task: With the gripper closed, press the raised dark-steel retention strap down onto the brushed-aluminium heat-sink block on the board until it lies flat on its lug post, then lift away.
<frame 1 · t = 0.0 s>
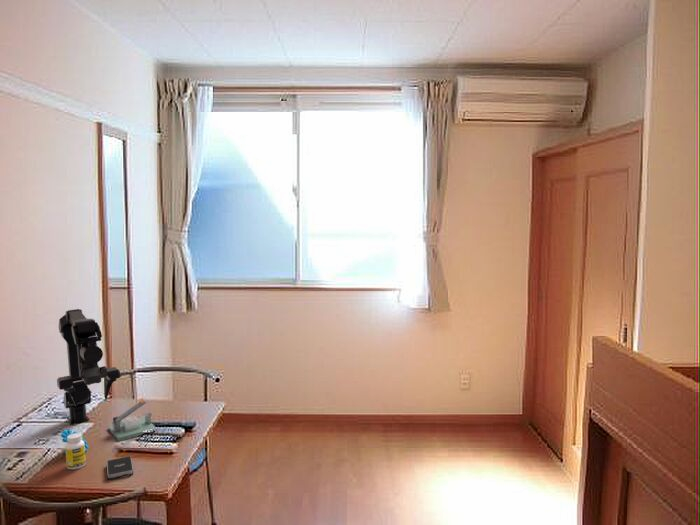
hand: (91, 402, 185), 15 cm above the table, fingers open, 9 cm apart
external hard drive: (120, 472, 168), on the table
supplement bottle: (76, 466, 171), on the table
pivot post: (116, 433, 195), resting on board
board: (132, 430, 198), on the table
heatsink: (130, 430, 198), resting on board
gear: (76, 452, 182), on the table
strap: (130, 410, 197), point 7 cm above the table, hinge at 25.0°
lug post: (148, 425, 202), resting on board
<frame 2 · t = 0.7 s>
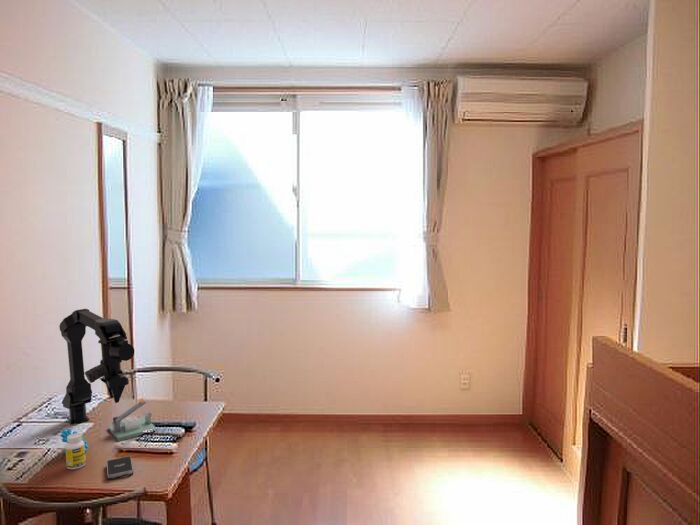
hand: (114, 400, 192), 13 cm above the table, fingers open, 6 cm apart
nothing on the table moved.
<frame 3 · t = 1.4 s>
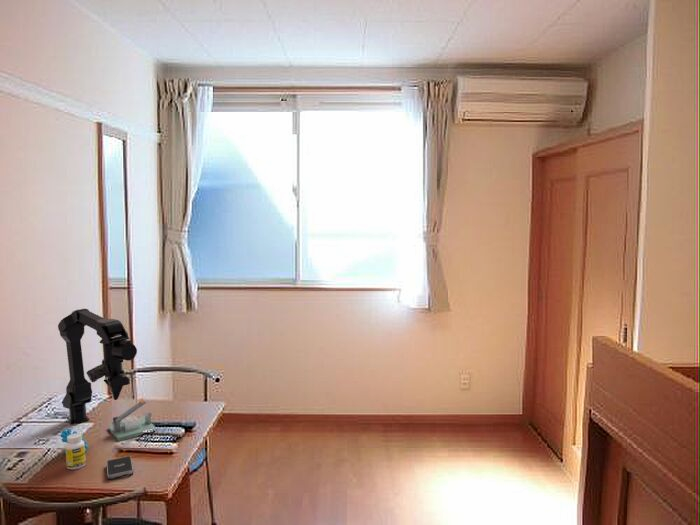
hand: (115, 399, 194), 13 cm above the table, fingers closed
nothing on the table moved.
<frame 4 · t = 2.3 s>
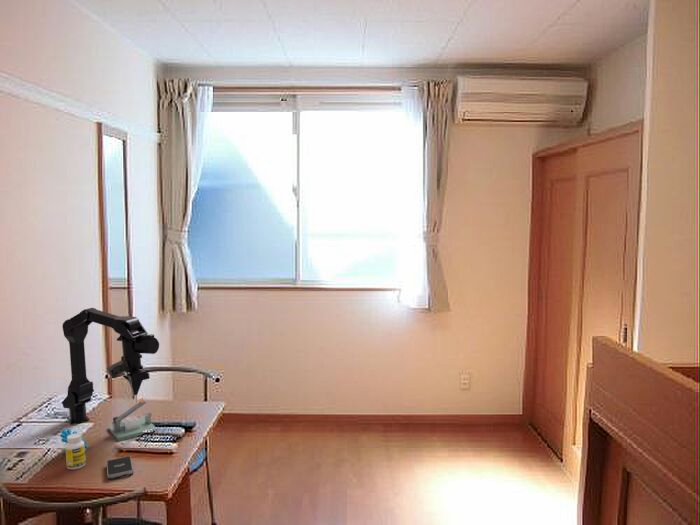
hand: (135, 394, 199), 12 cm above the table, fingers closed
nothing on the table moved.
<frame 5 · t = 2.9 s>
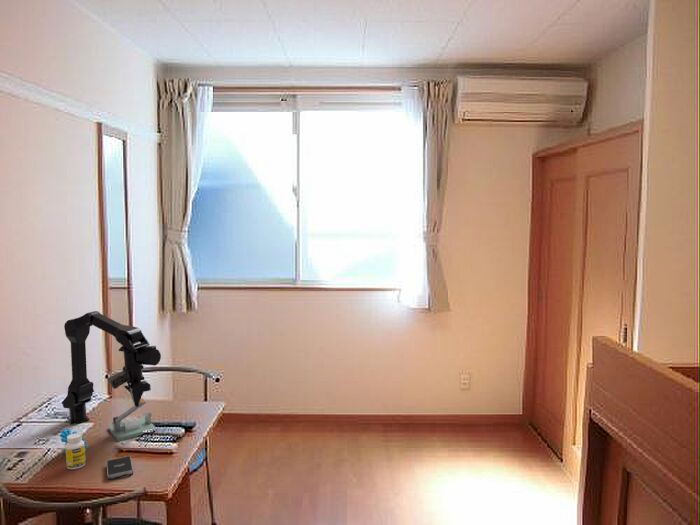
hand: (136, 405, 199), 9 cm above the table, fingers closed, pressing on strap
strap: (130, 410, 197), point 7 cm above the table, hinge at 25.0°, touching gripper
everything else where it was.
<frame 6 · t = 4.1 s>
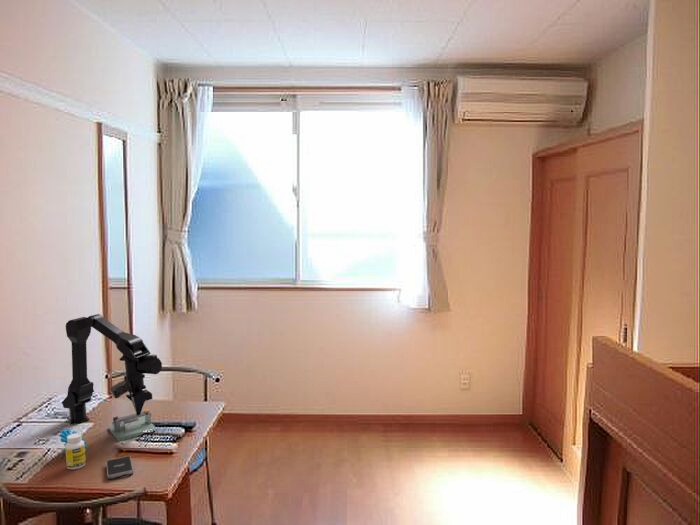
hand: (138, 414, 199), 5 cm above the table, fingers closed, pressing on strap
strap: (132, 415, 198), point 5 cm above the table, hinge at 1.0°, touching gripper
everything else where it was.
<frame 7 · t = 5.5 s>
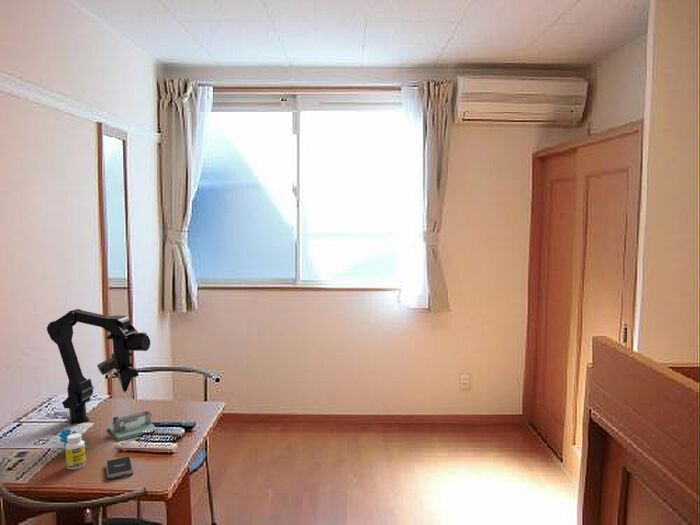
hand: (124, 391, 205), 12 cm above the table, fingers closed
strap: (132, 415, 198), point 5 cm above the table, hinge at 0.8°
everything else where it was.
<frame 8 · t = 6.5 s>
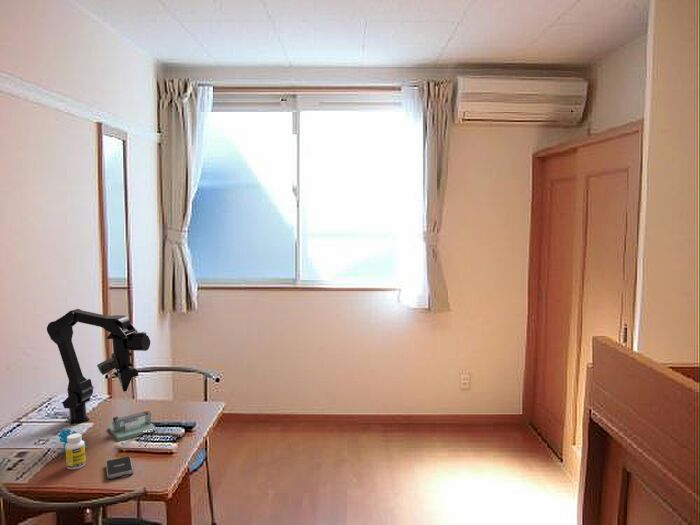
hand: (124, 391, 205), 12 cm above the table, fingers closed
nothing on the table moved.
at the end: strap at +1° (first picture: +25°); the gripper is holding nothing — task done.
